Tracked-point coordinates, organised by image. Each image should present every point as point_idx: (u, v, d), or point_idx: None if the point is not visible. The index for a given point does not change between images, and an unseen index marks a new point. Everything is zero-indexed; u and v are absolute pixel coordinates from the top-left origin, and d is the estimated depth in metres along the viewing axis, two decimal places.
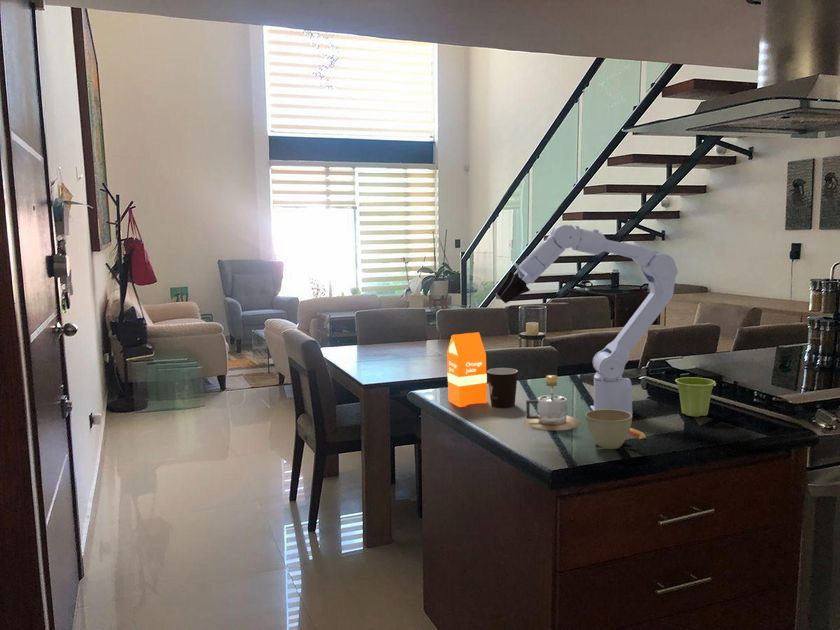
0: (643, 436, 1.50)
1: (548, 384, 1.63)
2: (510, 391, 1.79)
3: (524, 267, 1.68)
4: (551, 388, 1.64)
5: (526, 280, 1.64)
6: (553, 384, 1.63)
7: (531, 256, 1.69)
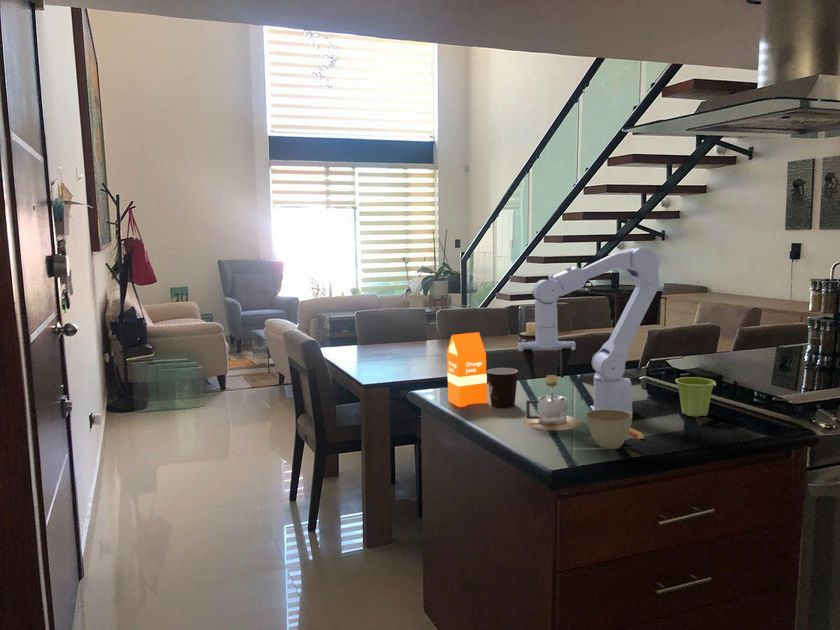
0: (641, 436, 1.49)
1: (548, 384, 1.63)
2: (510, 391, 1.79)
3: (555, 341, 1.70)
4: (551, 388, 1.64)
5: None
6: (553, 384, 1.63)
7: (553, 328, 1.69)
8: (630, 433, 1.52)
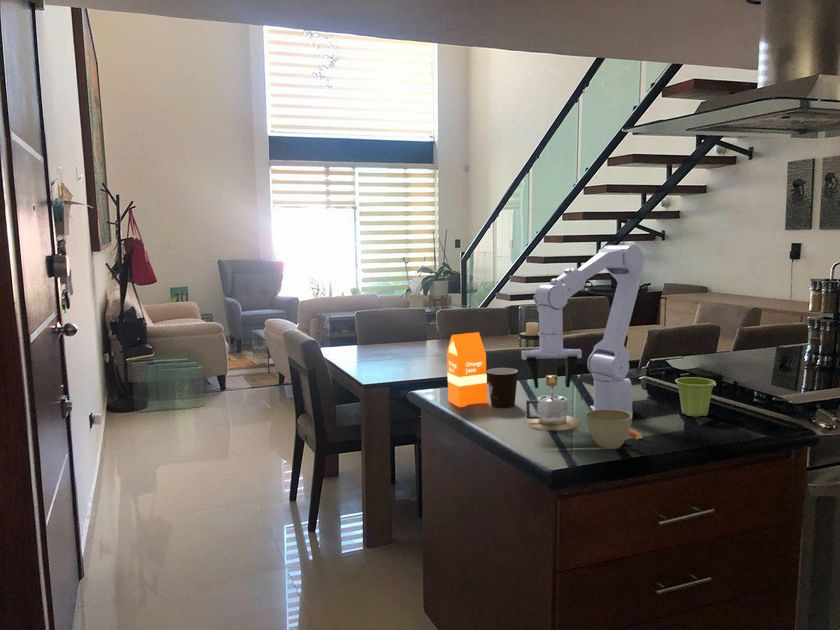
0: (640, 436, 1.49)
1: (548, 384, 1.63)
2: (510, 391, 1.79)
3: (561, 348, 1.61)
4: (551, 388, 1.64)
5: None
6: (553, 384, 1.63)
7: (558, 336, 1.60)
8: (629, 433, 1.52)
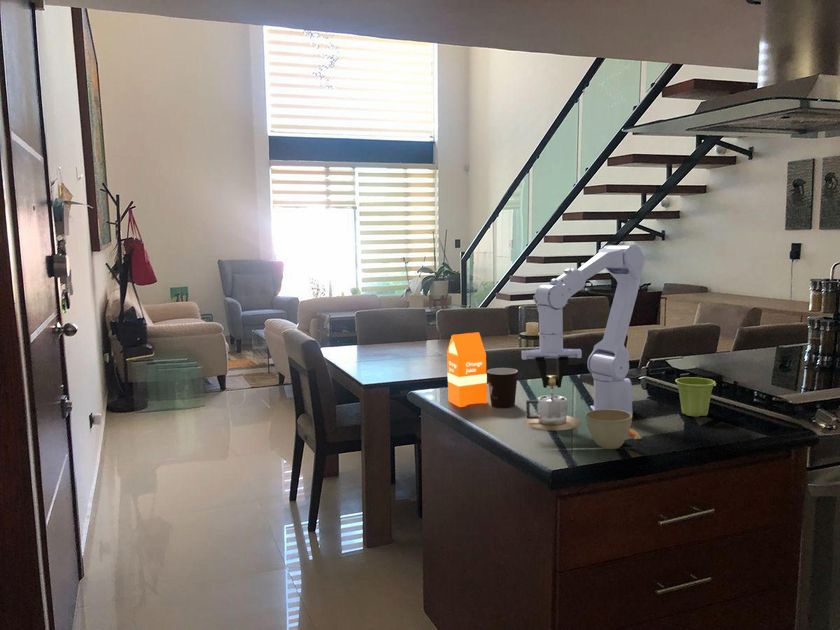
0: (638, 437, 1.49)
1: (548, 384, 1.63)
2: (510, 391, 1.79)
3: (561, 348, 1.61)
4: (551, 388, 1.64)
5: None
6: (553, 384, 1.63)
7: (558, 336, 1.60)
8: (628, 433, 1.52)
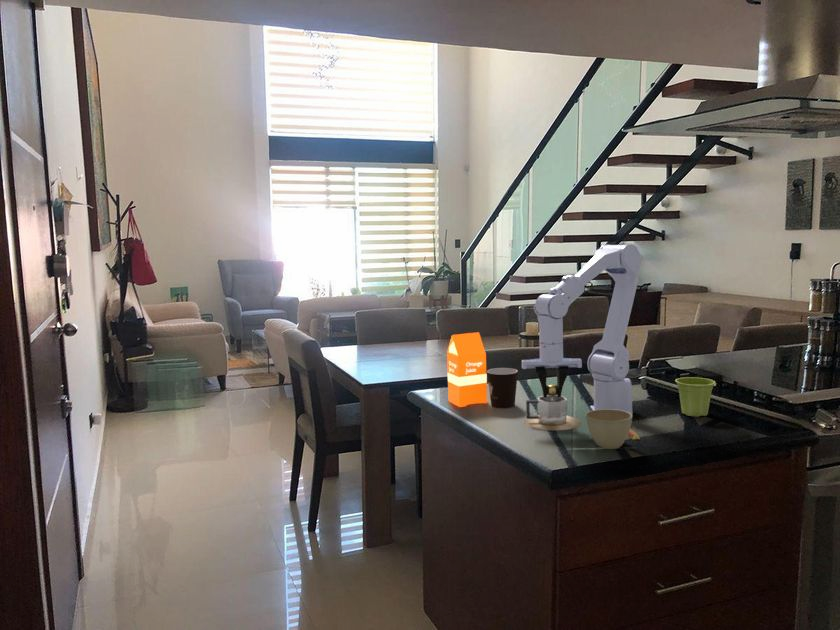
0: (636, 437, 1.49)
1: (548, 393, 1.63)
2: (510, 391, 1.79)
3: (561, 358, 1.61)
4: (551, 397, 1.64)
5: None
6: (553, 393, 1.63)
7: (558, 345, 1.60)
8: (628, 433, 1.52)
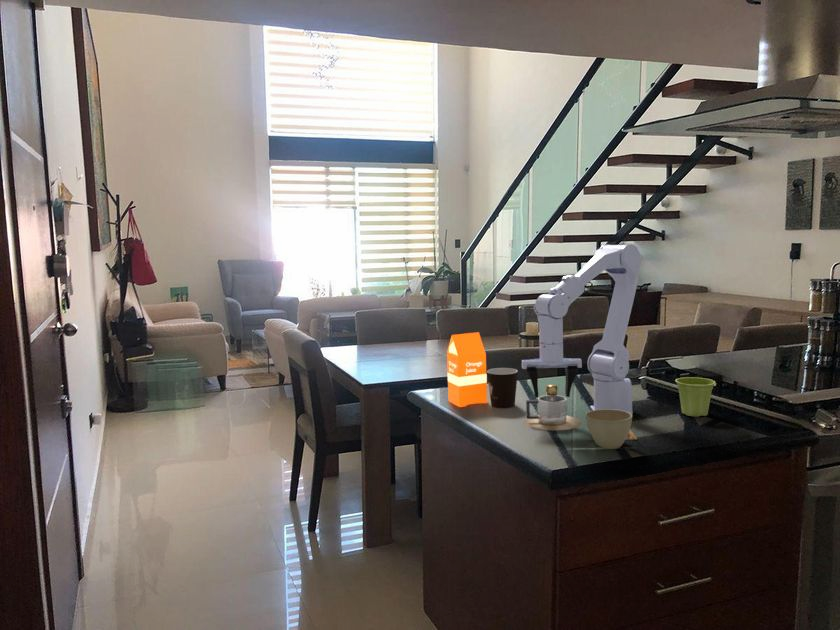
0: (633, 437, 1.49)
1: (548, 393, 1.63)
2: (510, 391, 1.79)
3: (561, 358, 1.61)
4: (551, 397, 1.64)
5: None
6: (553, 393, 1.63)
7: (558, 345, 1.60)
8: None
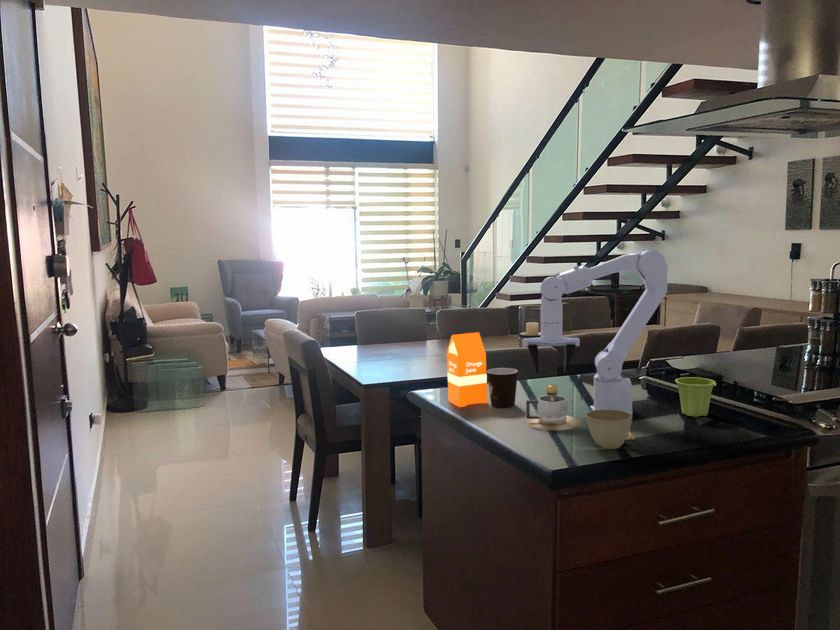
0: (631, 437, 1.49)
1: (548, 393, 1.63)
2: (510, 391, 1.79)
3: (560, 337, 1.73)
4: (551, 397, 1.64)
5: None
6: (553, 393, 1.63)
7: (558, 325, 1.72)
8: None
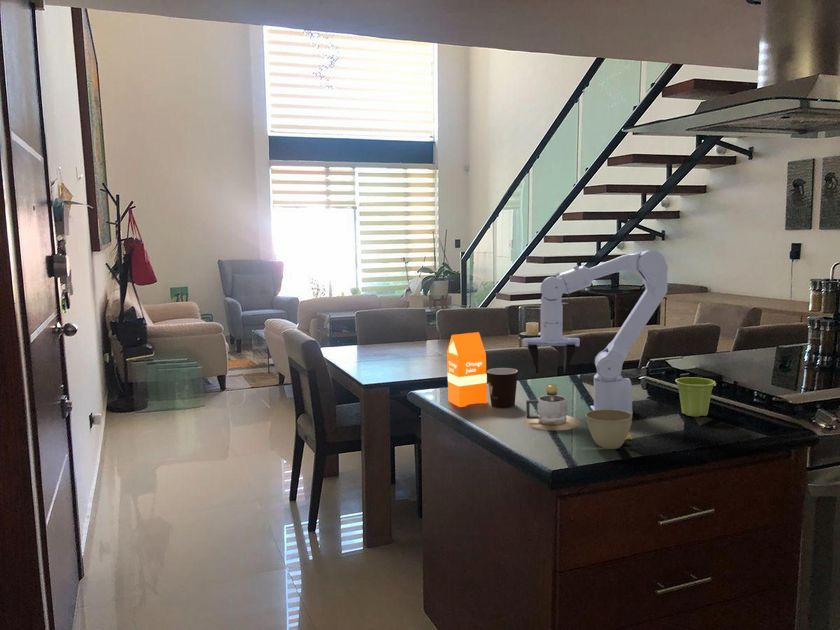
0: (629, 437, 1.49)
1: (548, 393, 1.63)
2: (510, 391, 1.79)
3: (560, 337, 1.73)
4: (551, 397, 1.64)
5: None
6: (553, 393, 1.63)
7: (558, 325, 1.72)
8: None
